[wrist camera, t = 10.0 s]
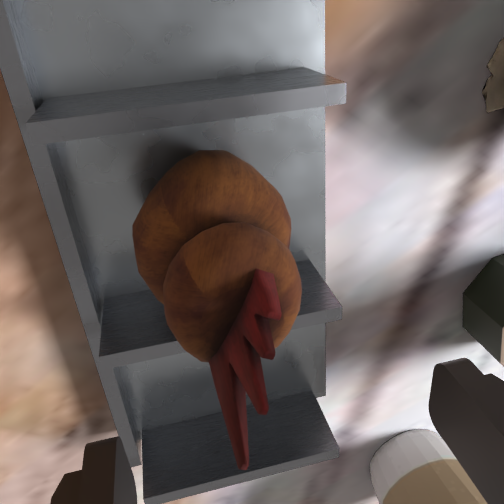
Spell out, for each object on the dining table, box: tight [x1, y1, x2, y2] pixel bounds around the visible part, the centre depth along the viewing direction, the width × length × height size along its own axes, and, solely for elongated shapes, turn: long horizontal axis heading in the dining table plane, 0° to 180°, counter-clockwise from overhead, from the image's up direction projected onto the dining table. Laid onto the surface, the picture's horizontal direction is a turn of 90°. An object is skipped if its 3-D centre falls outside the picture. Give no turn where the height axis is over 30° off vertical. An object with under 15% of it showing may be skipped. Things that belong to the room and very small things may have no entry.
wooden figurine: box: [132, 150, 302, 470], centre depth 18 cm, size 7×6×15 cm
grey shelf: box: [0, 0, 346, 504], centre depth 23 cm, size 14×33×6 cm, turn 5°
